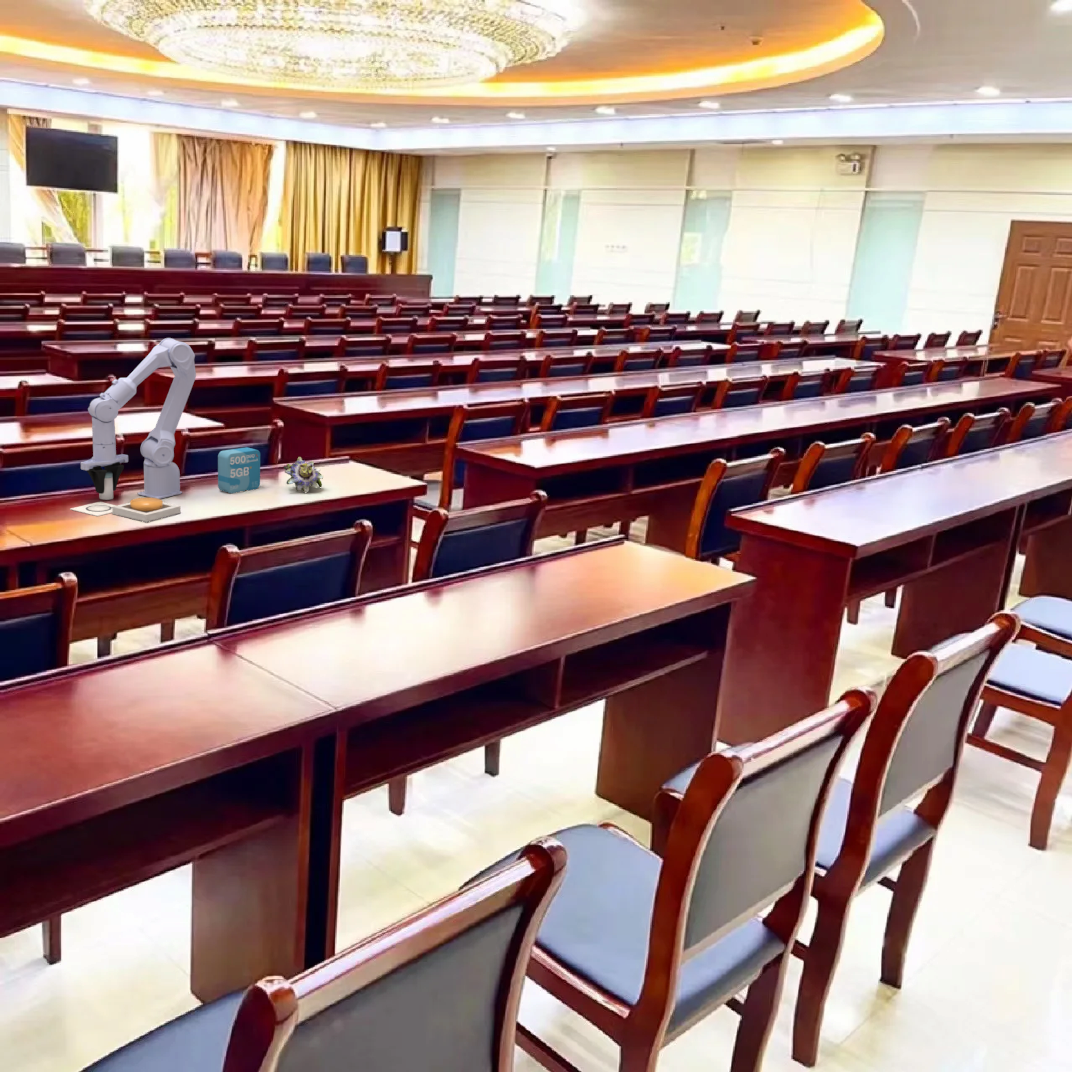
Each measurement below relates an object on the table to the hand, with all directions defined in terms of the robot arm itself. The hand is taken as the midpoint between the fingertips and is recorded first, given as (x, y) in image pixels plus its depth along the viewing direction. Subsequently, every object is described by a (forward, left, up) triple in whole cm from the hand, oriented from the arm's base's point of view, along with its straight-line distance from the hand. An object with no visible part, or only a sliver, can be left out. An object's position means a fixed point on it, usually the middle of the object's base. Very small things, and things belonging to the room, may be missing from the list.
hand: (106, 491), depth 285 cm
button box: (+3, +18, -2) cm, 18 cm away
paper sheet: (+8, +6, -2) cm, 10 cm away
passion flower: (-46, +31, -3) cm, 55 cm away
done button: (+3, +18, -1) cm, 18 cm away
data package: (-33, +18, -3) cm, 38 cm away
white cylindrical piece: (0, 0, -2) cm, 2 cm away
